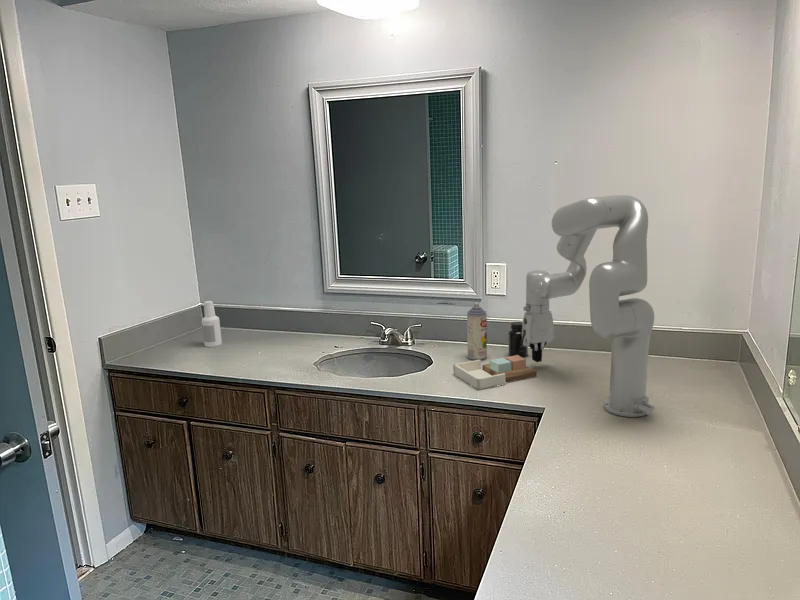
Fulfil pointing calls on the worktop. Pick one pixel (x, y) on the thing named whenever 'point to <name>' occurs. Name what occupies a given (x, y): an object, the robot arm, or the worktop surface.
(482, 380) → the box
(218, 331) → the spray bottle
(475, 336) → the aerosol can
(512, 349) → the supplement bottle
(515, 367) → the clay tile
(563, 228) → the robot arm
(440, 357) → the worktop surface
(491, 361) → the teal tile
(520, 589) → the worktop surface
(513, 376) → the walnut board
